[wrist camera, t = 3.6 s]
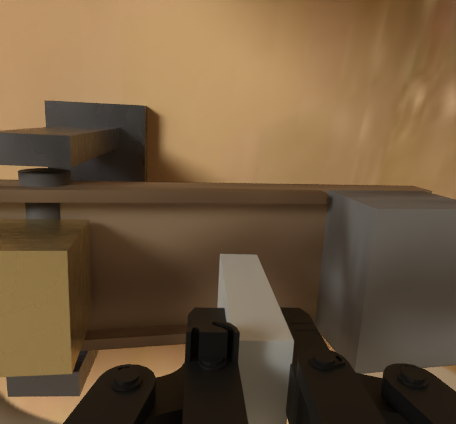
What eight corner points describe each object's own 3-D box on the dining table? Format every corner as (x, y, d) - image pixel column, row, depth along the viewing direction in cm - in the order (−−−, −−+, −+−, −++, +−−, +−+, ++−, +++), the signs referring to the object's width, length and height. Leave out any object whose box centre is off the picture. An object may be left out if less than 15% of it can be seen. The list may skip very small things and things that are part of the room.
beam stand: (50, 101, 26) (-61, 90, 15) (146, 106, 26) (110, 99, 15) (60, 305, 29) (-26, 424, 18) (145, 306, 30) (114, 423, 18)
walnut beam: (-508, 156, 14) (-913, 183, 9) (410, 175, 22) (501, 197, 16) (-435, 362, 16) (-732, 492, 11) (390, 313, 24) (465, 373, 18)
